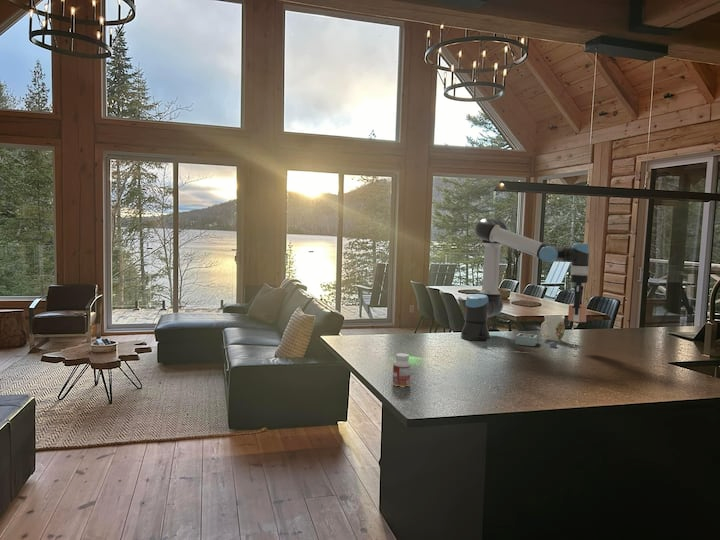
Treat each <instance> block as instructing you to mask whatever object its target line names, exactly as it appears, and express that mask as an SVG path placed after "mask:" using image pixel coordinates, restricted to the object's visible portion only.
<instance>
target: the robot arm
mask: <svg viewBox="0 0 720 540" xmlns="http://www.w3.org/2000/svg"><path fill="white" fill-rule="evenodd" d="M474 230H475V235H476V236H477V237H478V238H479V239H480V240H482V245H483V246H484V250H483V251H484V253H483V254H484V255H483V266H482V267H483V270H482V271H483V272H482V282H481V284H482V286H481V290H480V291H479V292H478V293H476V294H474V293H473V294H469V295H467V297H466V300H465V310H464V311H465V314H464V324H463V327H462V330H461V333H460V338H462V339H464V340H467V341H468V340H469V341H475V342H476V341H478V342H480V341H481V342H484V341H487V340H490V339H491V337H490V336H491V335H490V331H489V328H488V318H492V317H495V316H498V315H499V314H500V313H501V312H502V310H503V308H504V302H503V300H502V298H501V292H500V291H499V279H500V263H501V251H502V250H501V248H502V246H507V247H508V248H512V249H514V250H517V251H520V252H522V253H526V254H528V255H531V256H533V257H535V258H538V259H540V260H541V261H542V262H546V263H552V262H553V263H554V262H557V263H558V262H559V263H560V262H564V263H571V272H570V273H571V276H570V282H571V283H575V286H573V288H574V289H573V291H574V293H573V294H574V298H573V299H574V300H573V304H574V306H572V308H574V314H573V321H576V322H575V323H580V322H579V316H580V304H583V298H582V297H583V291H584V286H583V284H587V283H588V280H589V279H588V278H589V276H588V274H589V271H590V267H589V261H590V260H589V259H590V245H589V244H588V243H579V242H577V243H575V242H574V243H573V244H572V246H555V245H554V246H553V245H550V244H547V243H544V242H541V241H538V240H535V239H533V238H529V237H527V236H524V235H522V234H519V233H516V232H513V231H511V230H509V228H508V225H507V224H506V222H504V221H502V220H501V219H498V218H488V217H487V218H482V219H480V220H479V221H478V222H477V223H476V225H475V228H474ZM573 321H572V322H573Z"/></svg>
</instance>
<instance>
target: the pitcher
mask: <svg viewBox="0 0 720 540" xmlns="http://www.w3.org/2000/svg"><path fill="white" fill-rule="evenodd" d="M565 316H566V315H565V314H553V315H552V314H551V315H550V314H549V315H544V321H543V322H542V323H541V324H540V326H541V327H540V333H541V335H542V336H543V337H544V339H545V340H546V341H550V342H561V340H563V338H564V336H565V331H566V330H565V329H566V327H565V322H564V321H565V319H566V317H565Z"/></svg>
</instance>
